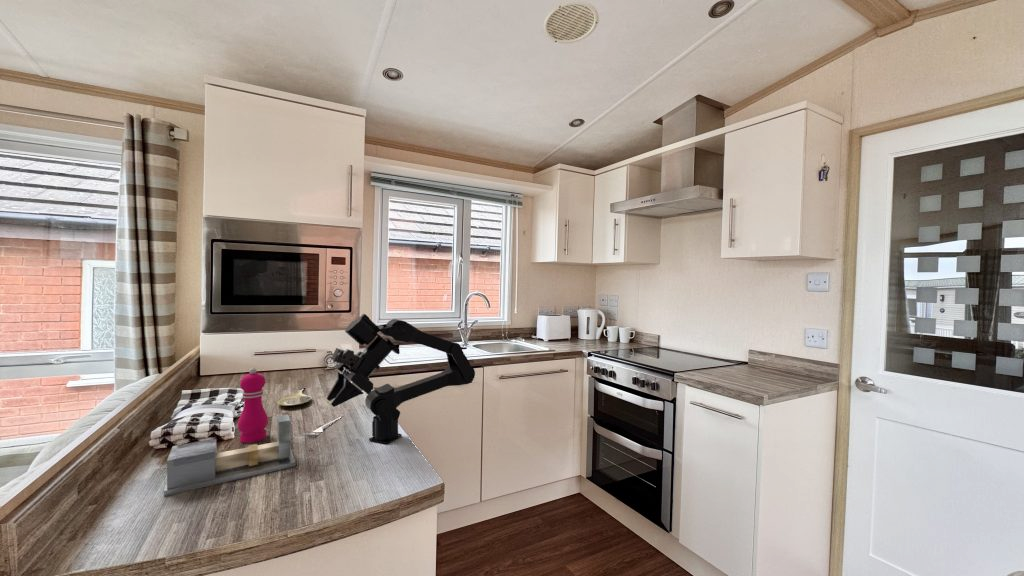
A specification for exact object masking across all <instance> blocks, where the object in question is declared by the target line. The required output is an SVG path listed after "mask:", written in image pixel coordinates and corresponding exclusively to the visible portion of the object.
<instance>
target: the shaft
mask: <svg viewBox="0 0 1024 576" xmlns="http://www.w3.org/2000/svg"><path fill="white" fill-rule="evenodd" d="M276 424H277V425H276V433H277V435H276V437H277V439H276V441H274V442H269V443H263V444H259V445H258V444H257V443H253V444H250V445H247V447H243V448H238V449H232V450H227V451H221V452H217V453H216V454H215V462H216V471H220V470H225V469H229V468H234V467H239V466H244V465H248V464H249V466H253V465H258V462H262V461H267V460H272V459H277V458H279V459H284V458H289V457H291V454H290V448H291V418H290V416H289V414H285V415H284V414H282V415H278V416H276Z"/></svg>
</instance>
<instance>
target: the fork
mask: <svg viewBox="0 0 1024 576" xmlns="http://www.w3.org/2000/svg"><path fill="white" fill-rule="evenodd" d="M340 418H341V416H339V417H337V418H336V419H334V420H331V421H329V422H327V423H325V424H324V425H321V426H320V427H318V428H317V429H315V430H313V432H324V429H327V428H328V427H329V425H330V426H331V424H332V423H333V424H335V423H336V422H337V421H336V420H338V419H339V420H341V419H342V418H341V419H340ZM339 420H338V421H339ZM335 421H336V422H335ZM334 422H335V423H334ZM333 424H332V425H333ZM303 434H304V435H307V436H319V434H315V433H312V432H311V433H309V432H306V433H305V432H303Z"/></svg>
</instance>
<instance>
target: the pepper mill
mask: <svg viewBox="0 0 1024 576" xmlns="http://www.w3.org/2000/svg"><path fill="white" fill-rule="evenodd" d="M265 385H266V377H265V376H264V375H263V374H261V373H258V372H257V368H255V367H251V368H250V369H249V370H248V374H245V375H244V376H242V377H241V380H240V382H239V387H240V388H241V390H243V391H242V396H241V397H242V398H243V401H244V403H243V409H242V411H241V414H240V416H239V418H238V421H237V429H238V431H240V432H241V433H240V434H239V442H240V443H243V444H251V443H257V442H260V441H263V440H265V439H266V438H267V429H266V428H267V426H268V424H269V417H268V415H267V414H268V413H266V410H265V409H264V406H263V400H262V398H263V395H264V389H263V388H264V387H265Z"/></svg>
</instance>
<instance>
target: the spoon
mask: <svg viewBox="0 0 1024 576" xmlns="http://www.w3.org/2000/svg"><path fill="white" fill-rule="evenodd" d="M304 390H305V389H302V390H298V391H297V390H296V391H295V393H294V394H292V395H289V396H287V397H283V398H281V399H280V398H279V400H278V401H277V405H279V406H284V407H285V406H286V407H288V406H290V407H291V406H298V405H303V404H305V403H308V402H310V401H311V400H312V396H310V395H306V394H305V393H303V391H304ZM292 398H303V399H304V401H303V402H301V401H300V402H301V403H300V402H298V403H299V404H297V403H291V404H287V403H286V401H287V400H289V399H292Z"/></svg>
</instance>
